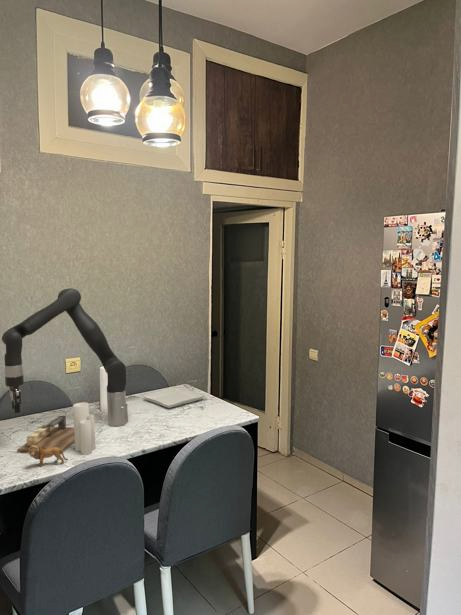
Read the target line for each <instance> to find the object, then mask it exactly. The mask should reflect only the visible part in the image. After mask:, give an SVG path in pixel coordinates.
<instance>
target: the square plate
mask: <svg viewBox="0 0 461 615" xmlns="http://www.w3.org/2000/svg"><path fill="white" fill-rule="evenodd" d="M205 397H206V395H205V394H203V393H200V392H197V391H193V390H190V389H187V388H183V387H174V388H169V389H165V390H160V391H157V392H152V393H149V394H145V395H142V398H143V399H145V400H146V401H148V402H152V403H154V404H157V405H160V406H163V407H165V408H167V409H173V408H175V407H179V406H183V405H187V404H190V403H194V402H196V401H200V400H201V399H204V398H205Z"/></svg>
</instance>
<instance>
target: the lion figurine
mask: <svg viewBox="0 0 461 615" xmlns="http://www.w3.org/2000/svg"><path fill="white" fill-rule="evenodd" d="M60 452H61V454H60ZM28 455H29V456H30V457H31V458H34V459H35V460H39V463H38V465H39V464H40V465H39V468H42V467H43V466H44V459H49V458H52V457H53V456H54V457H55V458H56V459H55V460H54V463H57V462H58V461H59V460H60V462H59V463H60V464H61V465H64V463H65V461H68V460H69V458H66V457H65V454H64V452H62V450H61V449H60V448H58V447H54V448H50V449H46V448H44V447H41V446H39V445H32V446H31V447H30V448H29V453H28Z"/></svg>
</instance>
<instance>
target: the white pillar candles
mask: <svg viewBox="0 0 461 615" xmlns="http://www.w3.org/2000/svg"><path fill="white" fill-rule="evenodd" d="M89 405H90V404H89V402H87V401H86V402H83V401H82V402H77V403H74V404H73V405H72V410H73V411H72V414H73V427H74V435H75V442H74V450H75V451H76V452H80V454H81V455H83V456H88V455H91V454H92V453H93V451H95V450H96V428H95V414H92V413H91V414H90V406H89Z"/></svg>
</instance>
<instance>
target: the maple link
mask: <svg viewBox="0 0 461 615" xmlns="http://www.w3.org/2000/svg"><path fill="white" fill-rule="evenodd" d="M47 424H48V423H46V424H42V426H40V428H39V429H37V430H36V431H35V432H33V433H31V434H30V435H29V436H27V437H26V443H27V446H32V445H35V444H36V443H38V442H39V441H40V440H42V439H43V438H45V437H46V436H47V435H50V427H47Z"/></svg>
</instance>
